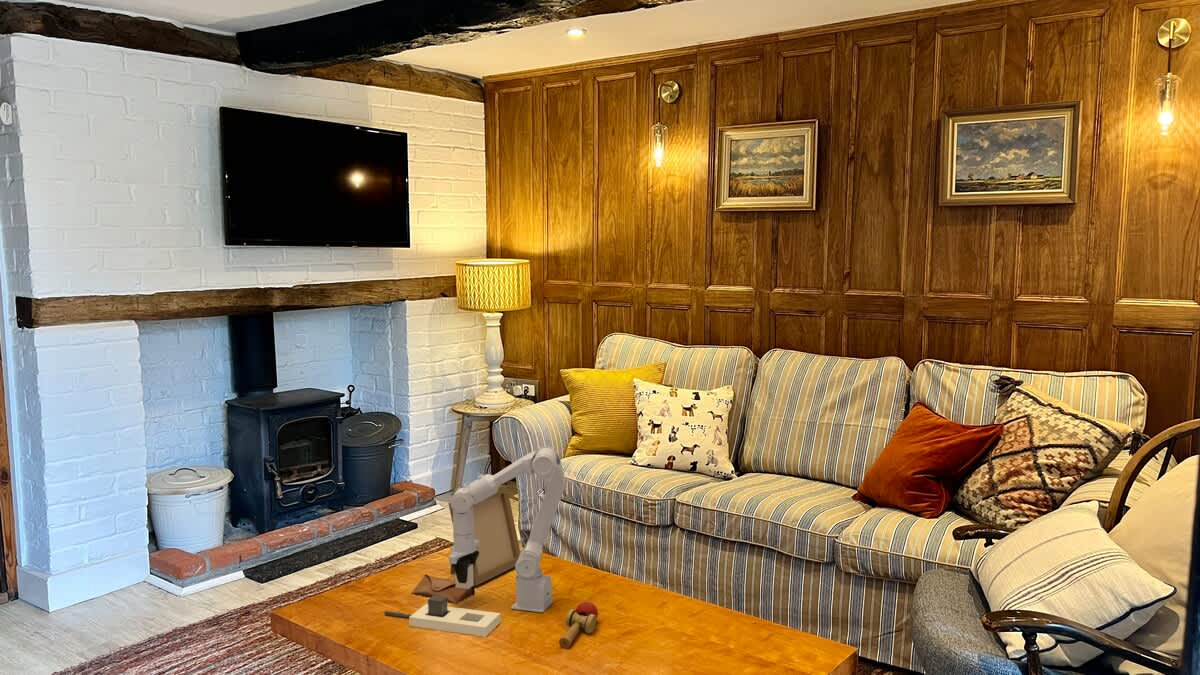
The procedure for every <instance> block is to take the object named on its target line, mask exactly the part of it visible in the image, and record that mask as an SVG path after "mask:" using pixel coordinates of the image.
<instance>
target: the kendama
mask: <svg viewBox="0 0 1200 675" xmlns="http://www.w3.org/2000/svg"><path fill="white" fill-rule="evenodd" d="M598 616H599V611H598V608H597V606H596V605H595V604H594V603H593V602H591V601H582V602H581V603H579V604H578V605H577V606H576V608H575V609H569V611H568V612H567V615H566V618H565V626H566V627H569V628H568V629H567V631H565V633H564V634H563V635H562V636H561V637H560V638H559V639H558V645H559V646H560V647H561V648H563V649H569V648H570V647H571V644H572V643H573V640H574V639H575V637H576V635H577V634H578V632H579V629H580V627H581V628H582V629H583V630H584V632H585V633H586V634H589V635H590V633H591V632H592V631H593V632H594V630H595V627H596V624H597V620H598ZM593 632H592V633H593ZM592 633H591V634H592Z"/></svg>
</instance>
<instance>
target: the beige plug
mask: <svg viewBox="0 0 1200 675" xmlns="http://www.w3.org/2000/svg"><path fill="white" fill-rule="evenodd" d="M454 577H455V578H454V579H455V580H454V581H455V583H456V588H465V589H469V588H471V587H472V586H473V585H474V579H473V564H469V566H468V572H467V581H466V583H459V582H458V579H457V576H456V572H455V573H454ZM473 587H474V586H473Z"/></svg>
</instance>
